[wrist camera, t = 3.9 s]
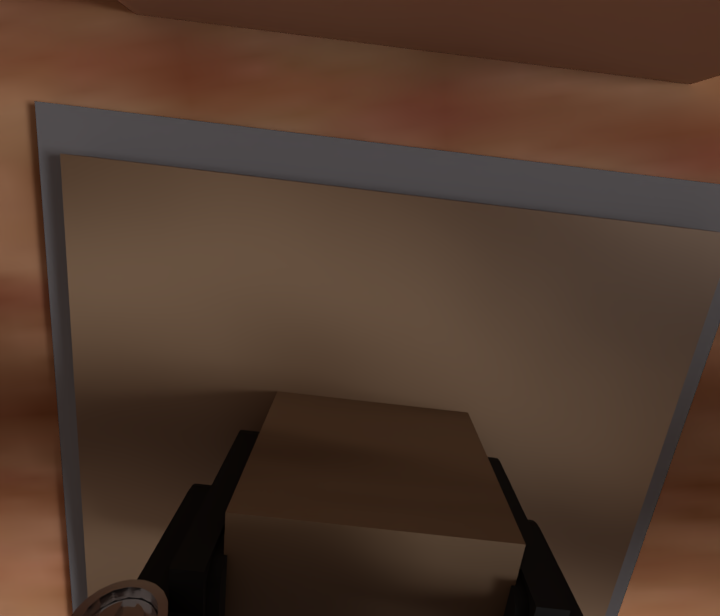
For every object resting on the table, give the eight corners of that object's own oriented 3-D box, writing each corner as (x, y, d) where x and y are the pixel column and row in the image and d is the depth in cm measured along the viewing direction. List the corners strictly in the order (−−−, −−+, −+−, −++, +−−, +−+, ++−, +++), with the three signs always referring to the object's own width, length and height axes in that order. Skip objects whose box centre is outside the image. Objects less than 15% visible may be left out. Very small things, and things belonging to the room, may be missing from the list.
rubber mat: (578, 696, 15) (584, 710, 14) (84, 645, 14) (76, 658, 14) (751, 189, 10) (766, 189, 10) (47, 104, 10) (34, 101, 10)
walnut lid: (560, 683, 14) (656, 933, 9) (107, 637, 14) (-26, 869, 9) (706, 230, 10) (991, 270, 6) (83, 155, 10) (-165, 133, 5)
